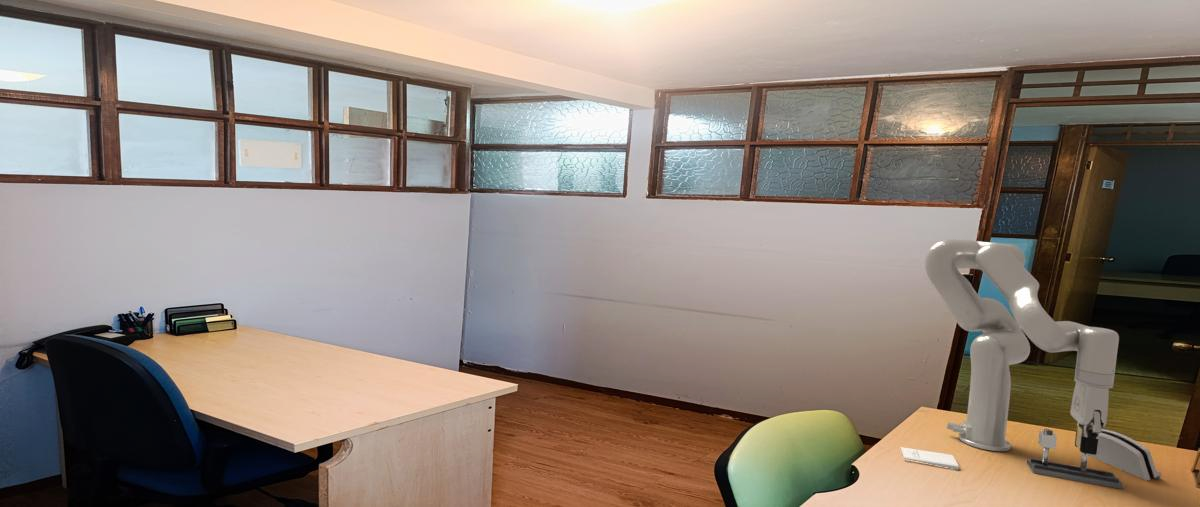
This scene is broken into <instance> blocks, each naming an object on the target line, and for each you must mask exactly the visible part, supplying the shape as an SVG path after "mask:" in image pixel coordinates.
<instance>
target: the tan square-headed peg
mask: <svg viewBox="0 0 1200 507" xmlns="http://www.w3.org/2000/svg"><path fill="white" fill-rule="evenodd" d="M1089 429H1092V428H1088V430H1089ZM1076 431H1077V438H1076V437H1075V438H1076V446H1077V447H1076V446H1075V447H1076V448H1078V449H1079V450H1080V445H1081V437H1082V436H1083V434H1084V426H1078V430H1077V429H1076ZM1080 457H1081V458H1080V466H1079V467H1080V469H1081V470H1082V471H1085V470H1086V468H1088V467H1087V466H1088V465H1087V464H1088V458H1089V455H1088V454H1087V453H1082V452H1081V456H1080Z"/></svg>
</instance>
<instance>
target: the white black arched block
mask: <svg viewBox="0 0 1200 507" xmlns="http://www.w3.org/2000/svg"><path fill="white" fill-rule="evenodd" d="M1088 457H1092V458H1093V459H1095V460H1098V461H1101V462H1102V463H1104V464H1107V463H1108V464H1107V465H1109V464H1110V465H1109V466H1111V465H1112V467H1114V468H1116V467H1117V468H1116V469H1118V468H1119V469H1118V470H1121V471H1123V470H1124V471H1123V472H1125V471H1126V473H1127V472H1128V474H1131V475H1132V474H1133V475H1132V476H1134V475H1135V476H1134V477H1137V476H1138V477H1137V478H1139V477H1140V478H1139V479H1141V478H1142V479H1141V480H1143V479H1144V481H1147V480H1148V481H1151V478H1154V479H1157V478H1158V479H1157V480H1159V479H1162V474H1161V472H1158V471H1157V469H1156V468H1157V467H1156V465H1155V463H1154V460H1153V456H1152V454H1151V451H1150V449H1149V448H1147V447H1146V446H1144V445H1142V444H1141V443H1140V442H1138V441H1136V440H1134V439H1132V438H1131V437H1129V436H1127V435H1125V434H1122V433H1119V432H1116V431H1113V430H1108V429H1103V428H1101V433H1100V434H1099V439H1098V446H1097V454H1096V455H1093V454H1088Z"/></svg>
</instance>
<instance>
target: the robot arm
mask: <svg viewBox="0 0 1200 507" xmlns="http://www.w3.org/2000/svg"><path fill="white" fill-rule="evenodd" d="M1025 264H1026V256H1025V253H1024V252H1023V250H1022V249H1021V248H1020V247H1019V246H1017V245H1015V244H1012V243H1001V242H991V241H982V240H981V241H980V240H971V239H944V240H940V241H937V242H936V243H934V244H933V245H932V246H930V247H929V250H928V251H927V253H926V256H925V262H924V267H925V271H926V275H927V278H928V279H929V280H930V282H931V284H932V285H933V286H934V288H935V290H936V291H937V292H938V294H939V295H940V297H941V299H942V301H943V302H944V303H945V305H946V307H947V309H948V310H949V312H950V313H951V315H952V317H953V318H954V320H955V322H956V323H957V325H958V326H959V327H960V328H961V329H963V330H964V331H966V332H982V333H981V334H979V335H978V336H976V337H975V338H974V339H973V341H972V343H971V344H970V348H969V349H970V350H969V353H970V366H971V367H970V368H971V369H970V384H969V396H968V405H967V414H966V415H967V416H966V420H964V421H963V423H962V422H961V423H958V424H957V423H954V422H949V421H948V422H947V423H946V430H949V431H950V430H952V432H954V433H958V439H959V440H960V441H961V442H962V443H964V444H967V445H969V446H972V447H975V448H977V449H982V450H987V451H993V452H1008V451H1010V450H1012V444H1011V442H1010V441H1008V440H1007V439H1006V436H1007V426H1008V416H1009V407H1010V398H1011V387H1012V379H1011V373H1010V372H1011V371H1010V365H1017V364H1021V363H1022V362H1024V361H1026V360H1027V359H1028V357H1029V355H1030V353H1031V346H1030V342H1029V340H1030V341H1031V342H1032V344H1034V345H1035V346H1036V347H1037V348H1038V349H1040V350H1042V351H1044V352H1048V353H1061V352H1072V351H1073V352H1074V351H1075V352H1077V353H1076V363H1075V371H1074V378H1073V381H1074V382H1075V385H1074V387H1073V388H1074V389H1073V394H1072V399H1071V405H1070V416H1071V417H1072V418H1073V419H1074V420H1075V421H1076V422H1077V424H1076V432H1075V439H1074V440H1075V441H1074V446H1075V447H1076V448H1078V447H1077V446H1076V438H1077V430H1078V426H1084V434H1083V436H1082V437H1081V445H1080V449H1079V452H1080V453H1081V454H1082V453H1087V454H1093V455H1096V454H1097V446H1098V439H1099V434H1100V433H1101V429H1103V428H1105V427H1106V425H1107V421H1108V420H1107V418H1108V411H1109V394H1110V391H1109V389H1112V388H1114V382H1115V373H1116V366H1117V357H1118V356H1117V355H1118V349H1119V342H1120V336H1119V334H1118V332H1117V331H1115V330H1113V329H1110V328H1104V327H1097V326H1088V325H1085V324H1081V323H1078V322H1074V321H1071V320H1062V321H1055V320H1054V319H1053V318H1052V317H1051V316H1050V315H1049V314H1048V312H1047V310H1045V309H1044V307H1042V305H1041V303H1040V301H1039V298H1038V293H1039V289H1040V282H1038V280H1037V279H1036V278H1035V277H1034V276H1033V275H1032V274H1031V272H1029V271H1028V270H1027V269H1026V268H1025ZM959 269H972V270H979V271H980V270H981V271H982V272H983V274H984V275H985V276H986V277H987V279H988V280H990V282H991V283H992V284H993V285H994V287H996V289H997V290H999V292H1000V293H1001V295H1002V296H1003V297H1004V298H1005V299H1006V300H1007V302H1008V306H1009V310H1008V308H1007V307H1006V306H1005V305H1004V304H1003V303H1002V302H1000V301H999V300H996V299H995V298H991V297H990V298H989V297H980V295H979V294H978V293H977V291H976V290H975V289H974V287H973V286H972V283H971V282H970V281H969V280H968V279H967V277H965V275H963V274H962V273H961V272H960V271H959ZM1010 312H1011V313H1010ZM1026 336H1027V337H1026ZM1028 339H1029V340H1028ZM1088 428H1092V429H1089V430H1088Z"/></svg>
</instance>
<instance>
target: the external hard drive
mask: <svg viewBox="0 0 1200 507" xmlns="http://www.w3.org/2000/svg"><path fill="white" fill-rule="evenodd" d="M900 448H901V451H902V454H903V457H904V459H908V460H913V461H919V462H923V463H928V464H932V465H938V466H942V467H948V468H953V469H952V470H954V469H957V470H956V471H959V469H960V466H959V463H958V462H957V460H956V459H955V457H954V455H953V454H947V453H942V452H934V451H927V450H922V449H915V448H909V447H902V446H900V447H899V449H900ZM901 451H900V452H901ZM902 454H901V455H902ZM903 457H902V458H903ZM942 467H941V468H942ZM948 468H947V469H948Z"/></svg>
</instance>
